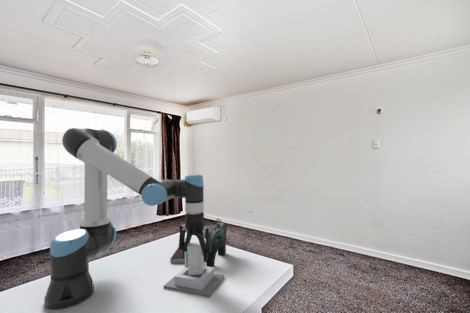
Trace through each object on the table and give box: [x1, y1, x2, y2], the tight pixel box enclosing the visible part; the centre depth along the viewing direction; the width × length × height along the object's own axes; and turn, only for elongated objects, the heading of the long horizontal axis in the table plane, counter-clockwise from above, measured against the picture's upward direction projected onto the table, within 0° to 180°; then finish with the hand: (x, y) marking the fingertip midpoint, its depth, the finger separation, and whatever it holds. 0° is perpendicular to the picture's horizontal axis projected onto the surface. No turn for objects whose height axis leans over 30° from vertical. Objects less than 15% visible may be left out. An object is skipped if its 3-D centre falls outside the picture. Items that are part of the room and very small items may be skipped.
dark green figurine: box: [206, 218, 228, 267], centre depth 117 cm, size 20×6×20 cm, turn 161°
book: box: [169, 246, 185, 264], centre depth 123 cm, size 12×19×3 cm, turn 179°
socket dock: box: [163, 265, 226, 298], centre depth 96 cm, size 20×15×4 cm
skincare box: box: [187, 241, 203, 275], centre depth 96 cm, size 6×4×12 cm
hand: (195, 267), depth 96 cm, fingers closed on skincare box, 7 cm apart
